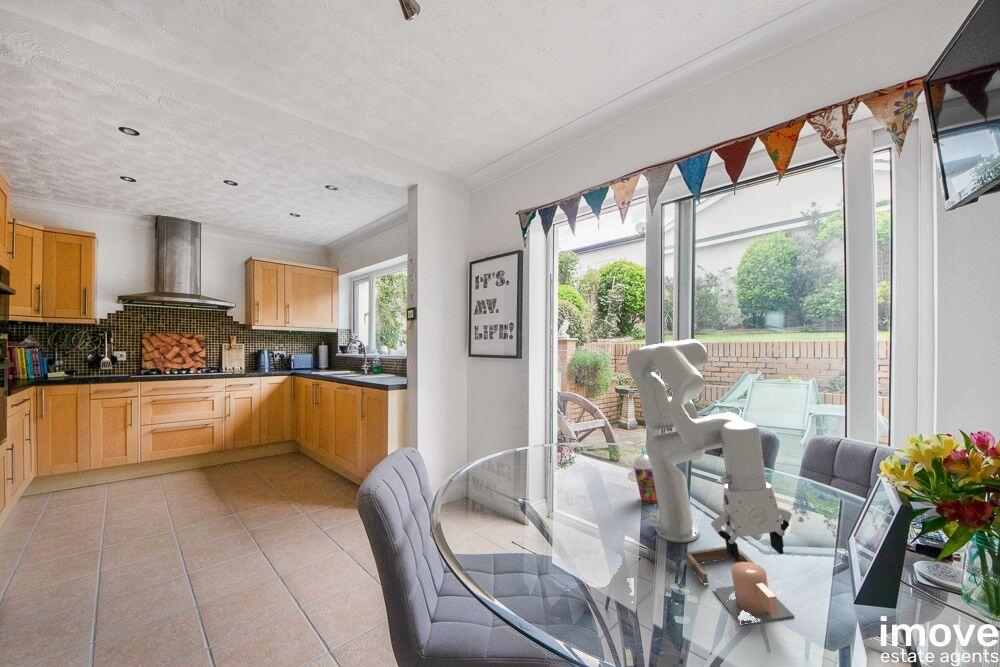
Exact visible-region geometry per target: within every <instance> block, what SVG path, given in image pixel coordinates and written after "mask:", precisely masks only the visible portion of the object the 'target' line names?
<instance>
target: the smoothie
mask: <svg viewBox="0 0 1000 667" xmlns="http://www.w3.org/2000/svg"><path fill="white" fill-rule="evenodd" d="M632 464H633V469H634V473H635V477H636V482H637V487H638V491H639V496H640V498H641V500H642V502H644V503H646V502H647V503H646V504H654V503H653V502H655V503H657V497H656V490H655V484H654V478H653V473H652V468H651V464H650V461H649V458H648V455H647V453H646V454H645V450H644V447H641V454H639V455H638V456H637V457H636V458H635V459H634V462H633V463H632Z"/></svg>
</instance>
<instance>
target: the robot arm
mask: <svg viewBox="0 0 1000 667" xmlns="http://www.w3.org/2000/svg"><path fill="white" fill-rule="evenodd" d="M708 357H709V356H708V352H707V349H706V347H705V346H704V345H703V344H702V343H701V342H700V341H699V340H696V339H694V338H692V339H691V338H690V339H683V340H675V341H667V342H662V343H657V344H650V345H649V344H648V345H644V346H640V347H637V348H634V349H632V350H629V353H627V357H626V365H627V370H628V372H629V375H630V377H631V379H632V381H633V382H634V384H635V386H636V389H637V392H638V396H639V401H640V402H639V403H640V406H641V411H642V415H643V419H644V423H645V425H646V427H647V428H648V429H650V430H653V431H658V430H659V431H660V430H667V429H672V428H674V429H675V430H674V431H669V432H664V433H663V432H662V433H660V434H659V433H658V434H655V435H653V436H651V437H649V438H648V439H647V440H646V441H645V451H646V455H648V458H649V461H650V464H651V468H652V473H653V478H654V484H655V490H656V497H657V502H656V503H657V508H658V513H655V512H652V511H651V512H649V513H648V516H649V522H650V523H654V524H657V525H656V528H655V529H656V533H657V535H658V537H660V538H661V539H662V540H665V541H667V542H671V543H679V544H680V543H690V542H693V541H695V540H696V539H698V538H699V536H700V533H701V532H700V529H699V526H698V525H696V523H694V522H693V515H692V509H691V504H690V496H689V489H688V483H687V479H686V476H685V474H684V473H683V472H682V471H681V469H680V468H678V467H677V466H676V465H679V464H682V463H685V462H691V461H695V460H700V459H702V458H703V457H704V455H705V454H706V451H710V450H714V449H720V448H722V449H721V450H722V455H723V463H724V469H725V471H724V476H723V477H720V482H721V484H723V485H724V488H723V489H724V490H723V514H721V515H719V516H718V517H717V518H715V519H714V520H713V521H711V523H710V525H711V527H712V528H713V530H714V531H715V532H716V533H717V534H718V536H719V537H721V538H722V539H724V540H725V541H724V542H725V546H726V548H727V552H728V554H729V555H730V556H732V557H733V558H732V559H733V560H734V561H735V562H739V552H738V548H739V545H738V543H737V542H736V541H737V539H738V537H750V536H751V537H752V536H758V535H763V534H769V539H770V547H771V548H772V549H773V550H774V551H775V552H777V553H778V554H780V555H784V547H785V545H784V539H783V537H784V536H785V535H786V532H785V531H786V530H787V529H788V527H789V526H790V521H791V518H792V516H793V514H792V512H790V511H789V510H787V509H785V508H781V507H778V502H777V500H776V499H777V498H776V496H775V493H774V491H773V486H772V485H771V484H770V483H768V482H767V479H766V477H767V476H766V471H765V463H764V456H763V446H762V441H761V439H762V438H761V432H760V429H759V427H758V426H757V425H755V424H754V423H752V422H748V421H745V420H744V419H743V418H742V417H741V416H739V415H738V414H736V413H734V412H733V413H732V412H723V413H717V414H711V415H705V416H700V417H699V415H698V411H697V409H696V405H695V404H694V402H693V400H694V399H695V398H696V397H697V396H699V395H700V394H701V393H702V392H703V390H704V388H705V384H706V380H705V379H704V377H703V376H702V374H701V373H700V372H699V371H698V369H700V368H702V367H705V366H706V364H707V362H708ZM656 372H658V373H659V374H660V376H661V377H662V378H663V379H662V378H661V377H660V376H659V375H657V374H656ZM663 380H664V381H665V382H664V381H663ZM665 383H666V384H667V386H668V388H669V389H670V390H671V392H672V396H668V392H667V389H666V388H667V387H666V384H665ZM724 525H726V528H725V529H724V530H723V529H722V527H723V526H724Z"/></svg>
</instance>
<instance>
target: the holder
mask: <svg viewBox="0 0 1000 667" xmlns="http://www.w3.org/2000/svg"><path fill="white" fill-rule="evenodd" d="M738 552H739V561H738V563H739V562H749V563H754V564H756V563H755V562H754V561H753V560H752V559H751V558H750V557H748V555H746V554H745V553H744V552H743V551H742V550H741V549H740V548H739V547H738ZM685 558H686V563H687V566H688V567H689V568H690V567H691V568H690V569H691V570H692V571H694V572H695V573H696V574H695V573H694V572H693V573H694V574H695V576H696V577H697V576H698V577H699V578H700V579H701V580H702V582H703V583H708V584H709V579H708V578H709V577H708V574H707V572H706V571H705V570H704V568H703V567H702V566H701V565H700V564H703V563H702V562H707V561H713V562H715V561H714V560H719V561H723V560H722V559H725V560H729V559H730V558H732V559H733V557H732V556H730V555H729V554H728V552H727V548H726V545H725V546H720V547H715V548H713V547H712V548H707V549H701V550H695V551H689V552H685ZM698 563H700V564H698ZM707 563H708V562H707ZM698 577H697V578H698ZM699 578H698V579H699ZM700 579H699V580H700ZM702 582H701V583H702ZM703 583H702V584H703Z"/></svg>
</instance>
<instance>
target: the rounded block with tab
mask: <svg viewBox="0 0 1000 667" xmlns="http://www.w3.org/2000/svg"><path fill="white" fill-rule="evenodd" d="M754 563H755V562H754ZM754 563H749V562H739V561H738V562H735V563H734V564H733V565H731V568H730V569H731V577H732V582H733V583H732V584H733V586H734V591H735V597H736V603H737V605H738V607H739V608H740V609H741V610H744V611H745V612H748V613H750V614H753V615H765V614H767V613H769V614H770V615H771V616H773V615H779V611H778V604H777V599H778V598H777V595H776V594H775V593H774V592H773V591H772V590H770V588H769V585H768V578H767V572H766V570H765V569H764V568H763V567H762V566H760V565H758V564H756V563H755V564H754Z"/></svg>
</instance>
